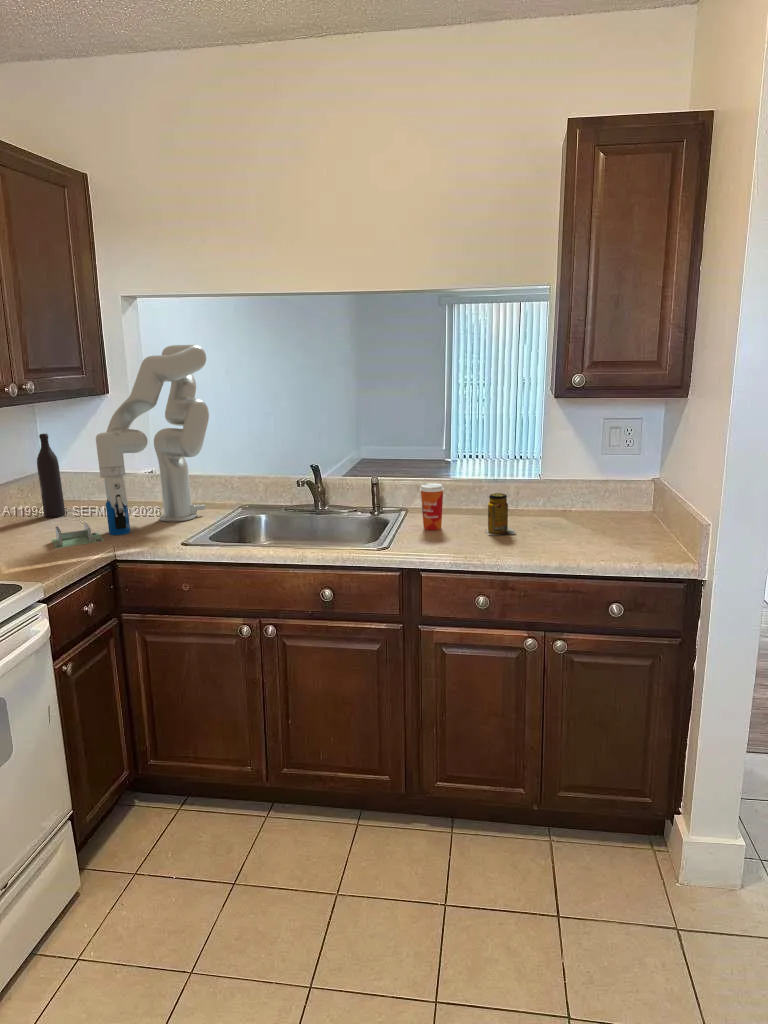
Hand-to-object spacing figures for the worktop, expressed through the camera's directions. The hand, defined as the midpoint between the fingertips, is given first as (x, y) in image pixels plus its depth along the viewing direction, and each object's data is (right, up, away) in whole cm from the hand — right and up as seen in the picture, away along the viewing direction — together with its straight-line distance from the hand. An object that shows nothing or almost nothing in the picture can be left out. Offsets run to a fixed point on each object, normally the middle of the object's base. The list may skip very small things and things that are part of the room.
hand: (119, 525), depth 230 cm
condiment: (+122, -2, -9) cm, 122 cm away
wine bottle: (-35, +3, +31) cm, 46 cm away
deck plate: (-10, -5, -7) cm, 14 cm away
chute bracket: (-11, -5, -8) cm, 14 cm away
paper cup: (+101, -1, -2) cm, 101 cm away
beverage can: (0, -3, +1) cm, 3 cm away
